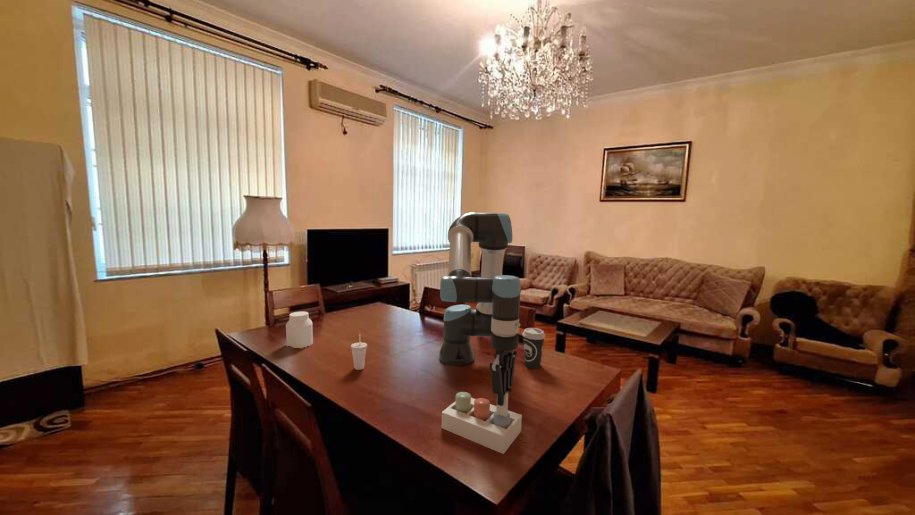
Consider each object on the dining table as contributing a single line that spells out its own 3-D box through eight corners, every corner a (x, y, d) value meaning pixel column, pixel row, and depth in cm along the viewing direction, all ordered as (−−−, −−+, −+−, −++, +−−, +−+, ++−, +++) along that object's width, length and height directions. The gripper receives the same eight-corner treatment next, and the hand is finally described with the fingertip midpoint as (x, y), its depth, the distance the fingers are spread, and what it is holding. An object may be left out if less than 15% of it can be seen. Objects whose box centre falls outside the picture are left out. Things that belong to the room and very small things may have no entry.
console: (441, 428, 102) (441, 412, 101) (463, 409, 112) (463, 394, 112) (503, 454, 91) (504, 436, 91) (521, 431, 101) (521, 415, 101)
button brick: (470, 422, 101) (471, 403, 100) (478, 415, 105) (478, 396, 104) (484, 428, 98) (485, 408, 98) (492, 420, 102) (492, 401, 101)
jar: (316, 343, 167) (315, 313, 165) (298, 350, 159) (297, 318, 157) (301, 339, 172) (300, 309, 171) (283, 345, 164) (281, 314, 162)
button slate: (490, 436, 97) (490, 415, 97) (497, 427, 101) (498, 408, 101) (505, 441, 95) (505, 421, 94) (511, 433, 99) (512, 413, 98)
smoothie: (370, 366, 143) (370, 333, 141) (360, 372, 137) (359, 338, 135) (358, 363, 146) (358, 331, 144) (347, 369, 140) (347, 335, 138)
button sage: (452, 415, 104) (452, 396, 103) (460, 408, 108) (460, 390, 107) (465, 420, 102) (465, 401, 101) (473, 413, 106) (473, 394, 105)
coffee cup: (544, 371, 142) (546, 335, 140) (520, 368, 144) (522, 333, 142) (543, 361, 151) (545, 328, 149) (521, 359, 153) (522, 326, 151)
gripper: (507, 342, 87) (504, 430, 90) (526, 329, 98) (523, 408, 101) (481, 336, 91) (478, 420, 94) (502, 324, 102) (500, 400, 105)
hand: (501, 414), depth 97 cm, fingers closed
